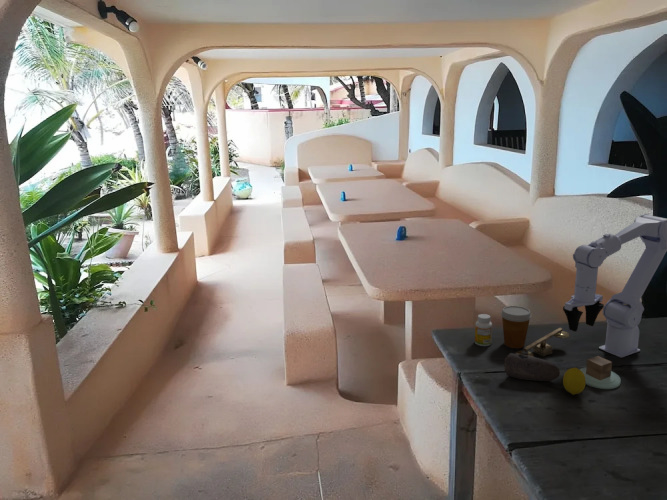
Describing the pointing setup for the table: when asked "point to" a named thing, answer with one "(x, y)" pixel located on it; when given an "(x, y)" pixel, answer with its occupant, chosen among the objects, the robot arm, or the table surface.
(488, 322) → the supplement bottle
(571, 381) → the lemon
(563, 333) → the balance
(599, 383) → the dish
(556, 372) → the perforated stone tool
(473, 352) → the table surface
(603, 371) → the block
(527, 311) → the disposable coffee cup
